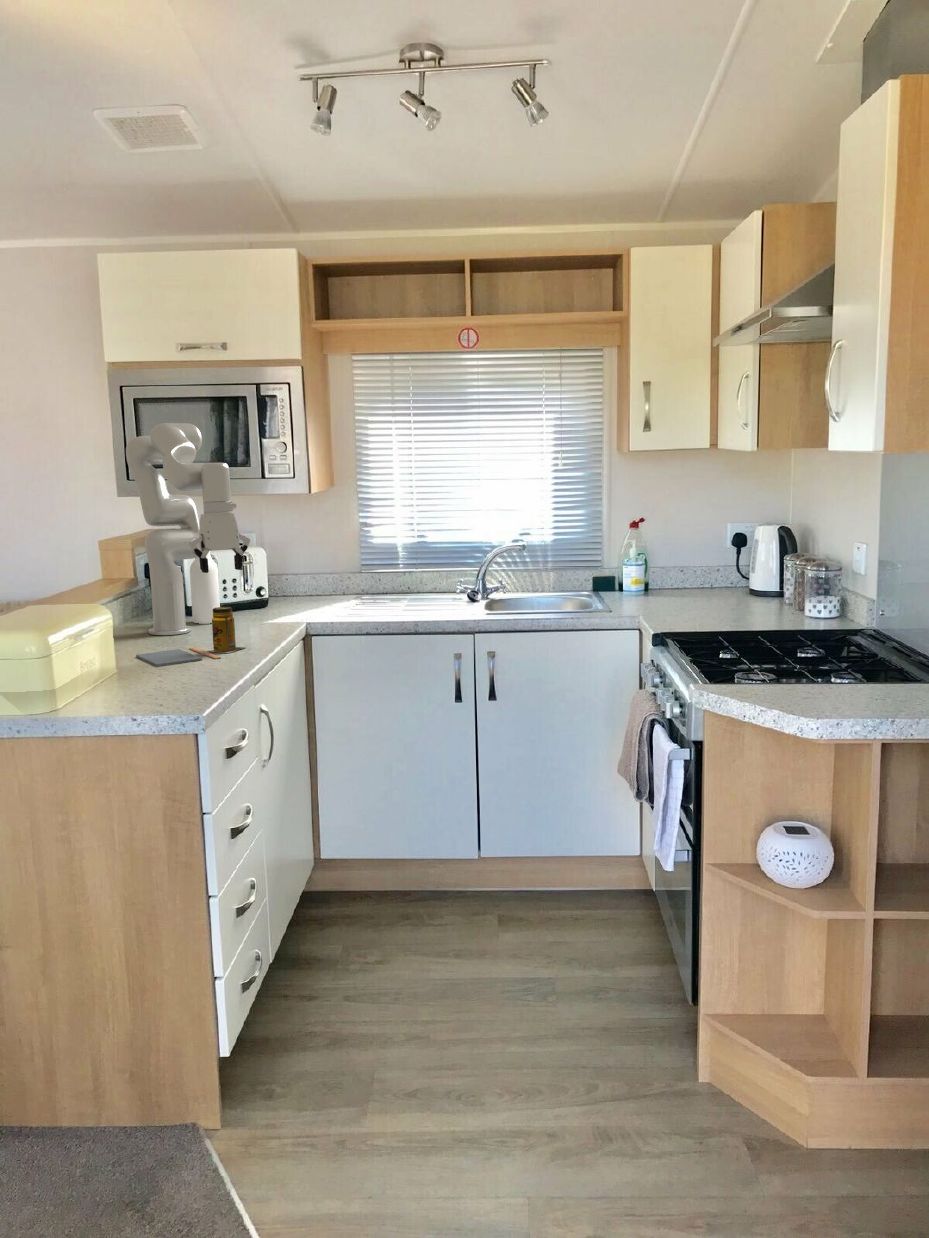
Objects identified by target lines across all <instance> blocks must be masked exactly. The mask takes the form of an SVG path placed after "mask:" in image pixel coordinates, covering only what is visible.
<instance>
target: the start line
mask: <svg viewBox="0 0 929 1238" xmlns="http://www.w3.org/2000/svg"><path fill="white" fill-rule="evenodd" d="M189 650H191V651H193V652H195V653H198V654H201V655H204V656H207V657H208V658H210V659H213V660H218V659H221V656H219V655H216V654H214V653H212V652H211V653H210V651H205V650H203V649H202V648H198V647H195V646H193V647H192V646H191V647H189Z"/></svg>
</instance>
